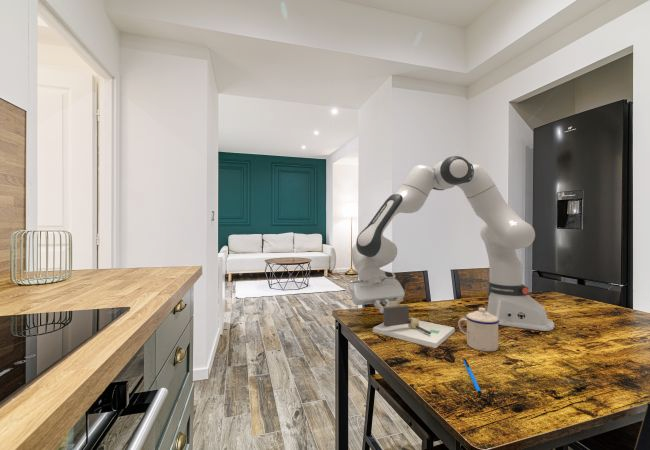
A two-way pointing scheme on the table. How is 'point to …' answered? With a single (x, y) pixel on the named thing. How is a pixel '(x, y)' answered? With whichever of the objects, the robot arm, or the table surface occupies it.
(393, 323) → the tuning peg
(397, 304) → the decorative ornament
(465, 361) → the pen
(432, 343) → the white rectangular slab
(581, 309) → the table surface
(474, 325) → the teacup with lid
